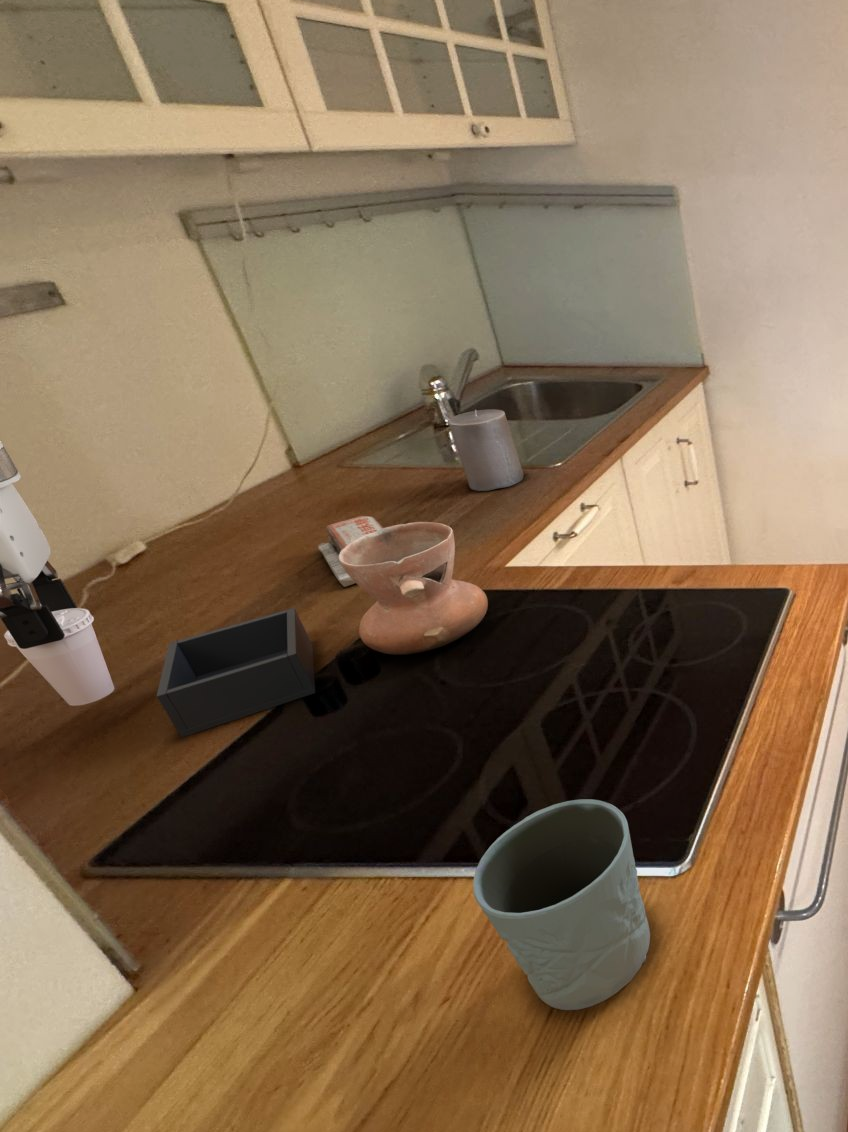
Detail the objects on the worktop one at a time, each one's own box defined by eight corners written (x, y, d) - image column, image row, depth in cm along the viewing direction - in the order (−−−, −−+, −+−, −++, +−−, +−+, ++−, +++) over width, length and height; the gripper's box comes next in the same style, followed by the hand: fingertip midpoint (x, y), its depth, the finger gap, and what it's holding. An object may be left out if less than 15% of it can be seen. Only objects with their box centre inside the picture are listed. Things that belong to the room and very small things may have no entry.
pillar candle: (496, 471, 159) (474, 401, 152) (535, 475, 156) (514, 403, 150) (457, 489, 150) (432, 416, 144) (498, 493, 148) (474, 419, 141)
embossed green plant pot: (670, 895, 65) (640, 790, 60) (646, 1012, 56) (608, 901, 51) (545, 914, 64) (504, 808, 59) (499, 1037, 55) (445, 925, 50)
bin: (181, 737, 86) (156, 696, 83) (191, 681, 95) (168, 642, 93) (315, 693, 92) (296, 653, 90) (312, 644, 102) (294, 607, 100)
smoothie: (110, 673, 90) (49, 569, 84) (144, 684, 88) (84, 578, 82) (36, 706, 85) (-35, 597, 79) (70, 718, 83) (0, 608, 77)
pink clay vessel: (504, 642, 101) (471, 547, 95) (372, 686, 93) (326, 585, 87) (482, 589, 114) (451, 502, 108) (364, 624, 106) (324, 532, 100)
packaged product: (308, 527, 125) (380, 507, 131) (320, 553, 127) (390, 533, 133) (330, 561, 113) (408, 538, 120) (343, 589, 115) (418, 565, 122)
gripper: (-74, 459, 79) (18, 608, 87) (-138, 512, 67) (-24, 679, 75) (32, 443, 83) (111, 587, 91) (-10, 491, 71) (86, 651, 79)
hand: (50, 627), depth 83 cm, fingers closed on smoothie, 6 cm apart
